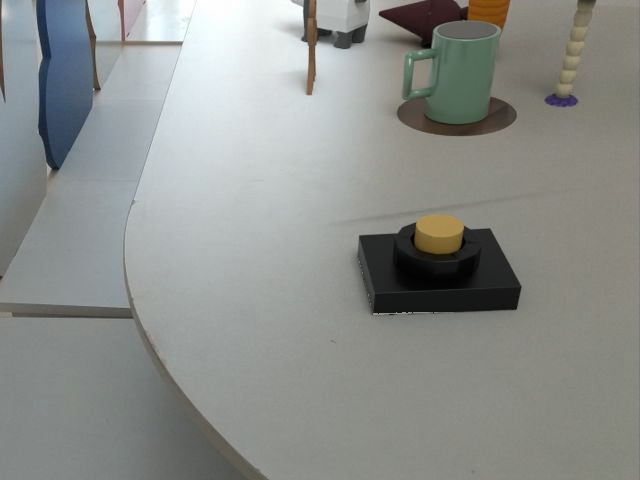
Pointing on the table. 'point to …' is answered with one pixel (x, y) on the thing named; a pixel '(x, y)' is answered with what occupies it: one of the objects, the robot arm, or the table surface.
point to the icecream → (425, 16)
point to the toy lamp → (572, 56)
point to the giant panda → (338, 19)
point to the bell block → (437, 274)
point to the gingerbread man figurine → (311, 45)
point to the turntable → (453, 124)
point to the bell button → (438, 234)
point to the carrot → (489, 11)
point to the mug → (456, 72)
